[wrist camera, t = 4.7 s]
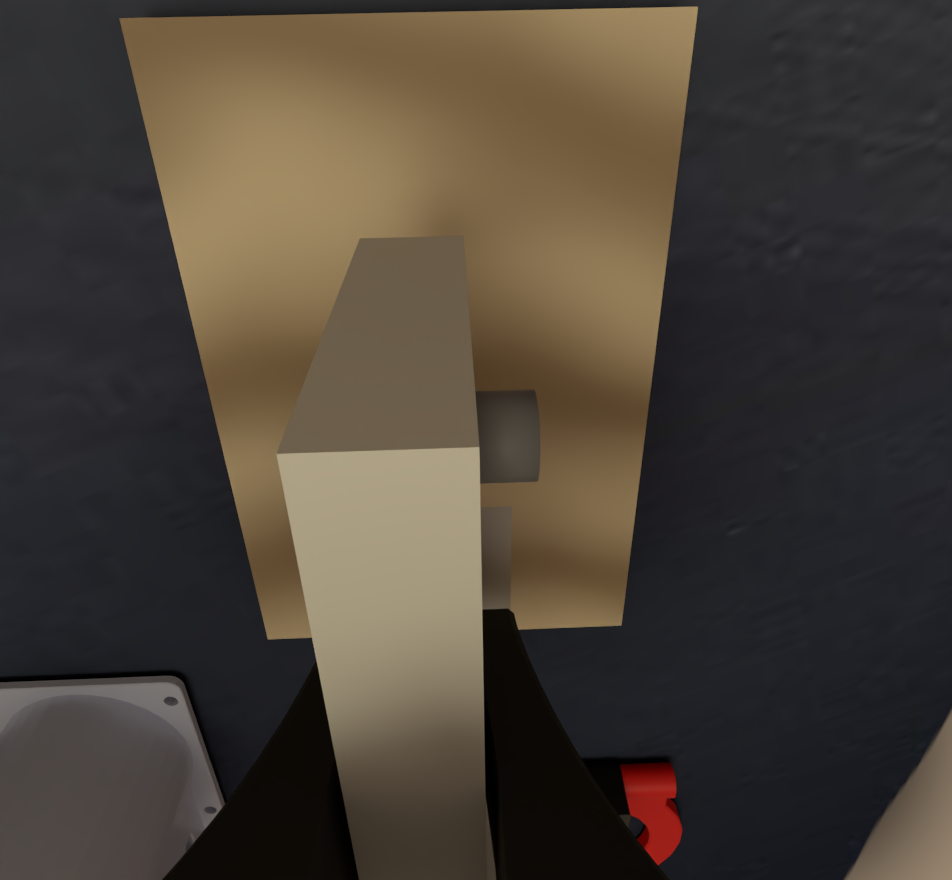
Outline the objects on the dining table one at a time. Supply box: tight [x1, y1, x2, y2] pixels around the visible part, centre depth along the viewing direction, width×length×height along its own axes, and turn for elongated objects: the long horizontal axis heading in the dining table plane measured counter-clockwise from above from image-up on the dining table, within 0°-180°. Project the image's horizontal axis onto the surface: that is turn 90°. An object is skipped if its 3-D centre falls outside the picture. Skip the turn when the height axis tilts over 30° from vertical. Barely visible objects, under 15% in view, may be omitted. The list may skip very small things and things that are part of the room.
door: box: [277, 236, 540, 880], centre depth 13 cm, size 13×3×7 cm, turn 1°
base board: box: [119, 7, 698, 639], centre depth 19 cm, size 18×12×5 cm, turn 1°
